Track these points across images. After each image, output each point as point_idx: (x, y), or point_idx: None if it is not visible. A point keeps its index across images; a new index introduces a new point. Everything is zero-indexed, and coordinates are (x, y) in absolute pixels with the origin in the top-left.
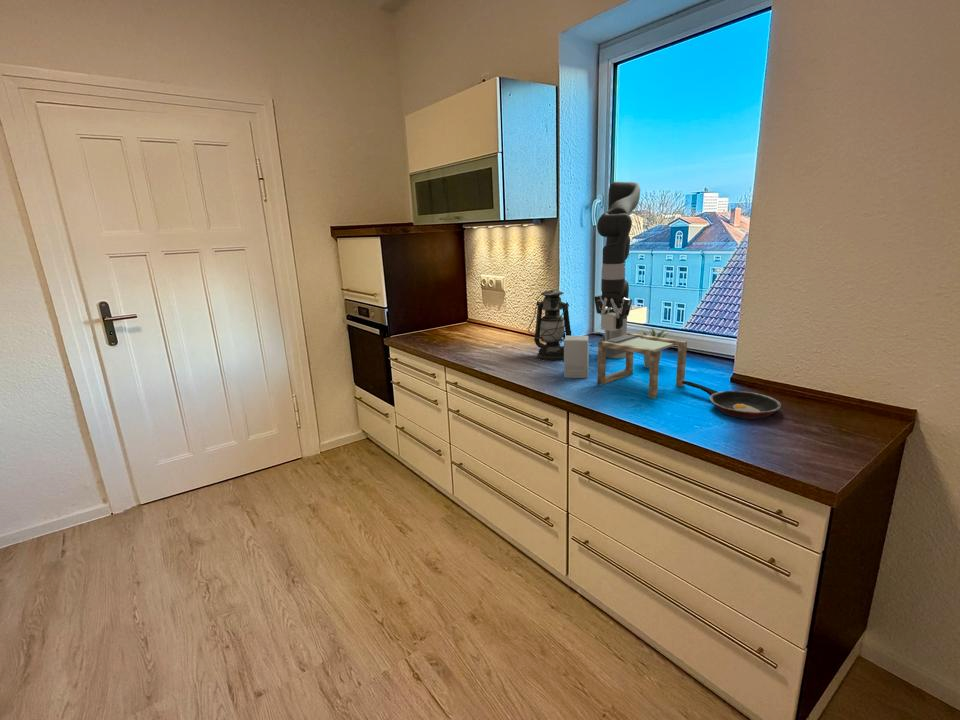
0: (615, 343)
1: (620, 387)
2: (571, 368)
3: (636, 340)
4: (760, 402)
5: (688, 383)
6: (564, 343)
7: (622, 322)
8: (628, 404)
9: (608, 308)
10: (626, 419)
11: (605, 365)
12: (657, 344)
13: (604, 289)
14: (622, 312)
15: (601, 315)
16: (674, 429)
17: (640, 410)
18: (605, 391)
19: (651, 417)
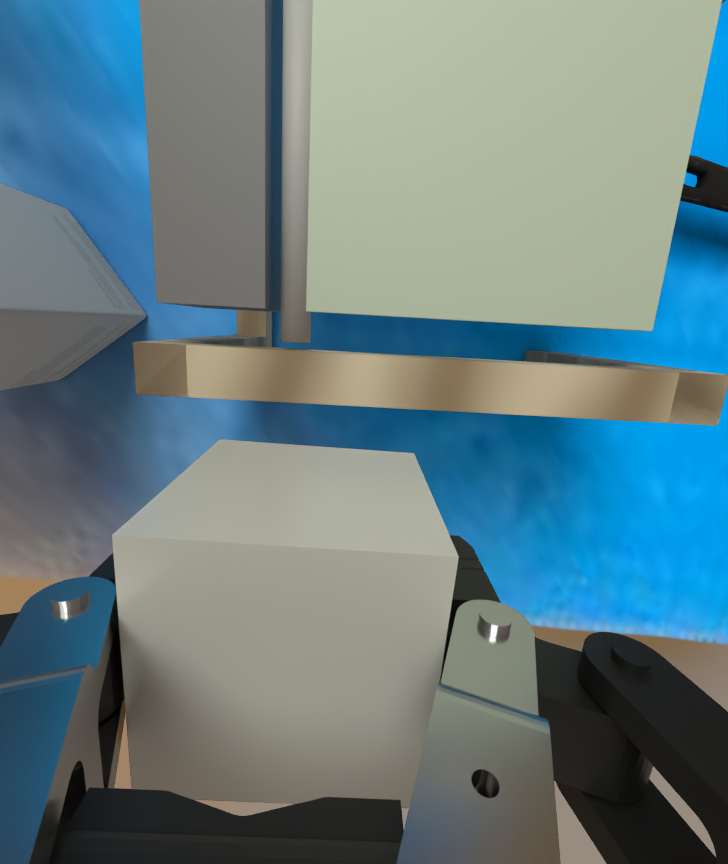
0: (305, 371)
1: (356, 335)
2: (52, 366)
3: (353, 60)
4: None
5: (685, 192)
6: None
7: (485, 584)
8: (495, 499)
9: (90, 765)
10: (557, 619)
11: (247, 339)
12: (605, 103)
13: None
14: (623, 853)
15: (144, 781)
16: (717, 596)
17: (560, 524)
18: (338, 426)
19: (619, 556)
